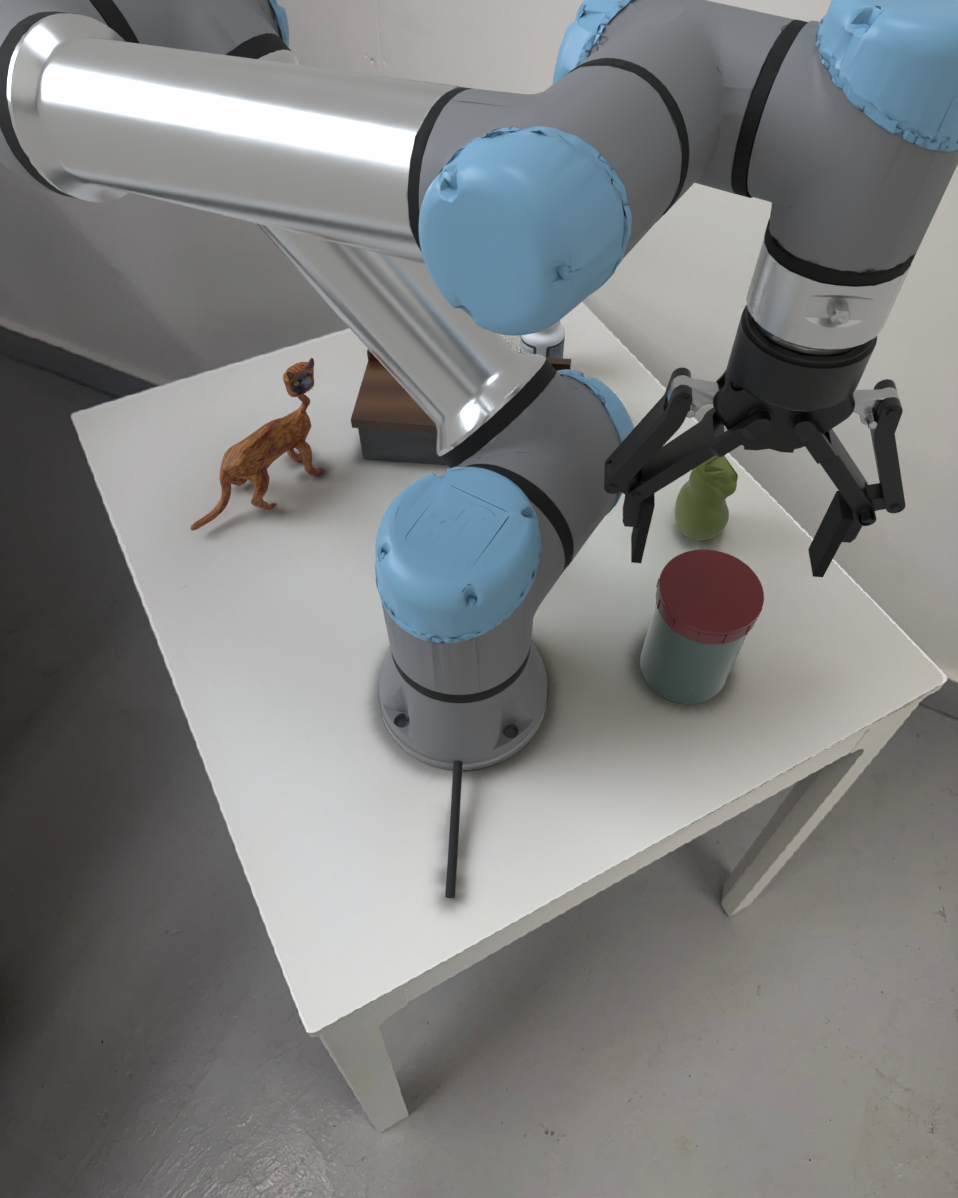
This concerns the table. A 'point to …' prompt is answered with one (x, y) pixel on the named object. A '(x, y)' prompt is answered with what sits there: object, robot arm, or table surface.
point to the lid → (709, 596)
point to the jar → (684, 663)
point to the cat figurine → (269, 446)
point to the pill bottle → (545, 342)
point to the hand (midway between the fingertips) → (724, 556)
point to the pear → (706, 499)
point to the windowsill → (398, 418)
